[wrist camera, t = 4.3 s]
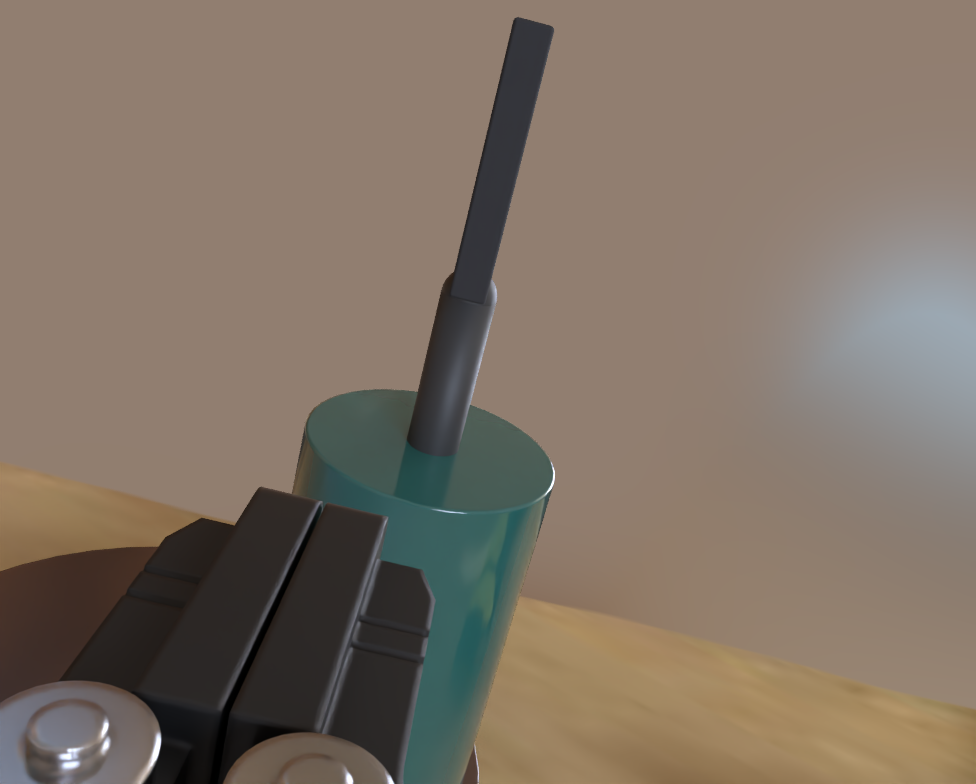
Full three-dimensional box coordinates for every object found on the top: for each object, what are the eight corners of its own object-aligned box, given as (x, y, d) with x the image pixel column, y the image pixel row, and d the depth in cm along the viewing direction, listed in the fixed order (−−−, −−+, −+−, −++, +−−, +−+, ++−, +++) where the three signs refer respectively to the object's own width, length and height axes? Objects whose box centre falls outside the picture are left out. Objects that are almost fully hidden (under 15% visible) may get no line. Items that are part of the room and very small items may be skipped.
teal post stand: (-471, 999, 17) (-757, -320, 9) (19, 529, 33) (57, -105, 25) (434, 1195, 18) (841, 102, 10) (486, 642, 33) (661, 54, 26)
